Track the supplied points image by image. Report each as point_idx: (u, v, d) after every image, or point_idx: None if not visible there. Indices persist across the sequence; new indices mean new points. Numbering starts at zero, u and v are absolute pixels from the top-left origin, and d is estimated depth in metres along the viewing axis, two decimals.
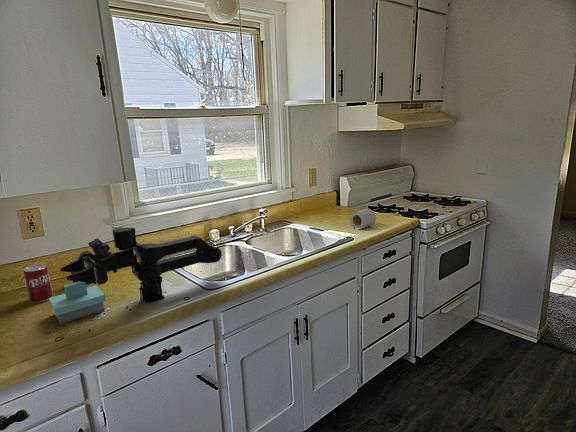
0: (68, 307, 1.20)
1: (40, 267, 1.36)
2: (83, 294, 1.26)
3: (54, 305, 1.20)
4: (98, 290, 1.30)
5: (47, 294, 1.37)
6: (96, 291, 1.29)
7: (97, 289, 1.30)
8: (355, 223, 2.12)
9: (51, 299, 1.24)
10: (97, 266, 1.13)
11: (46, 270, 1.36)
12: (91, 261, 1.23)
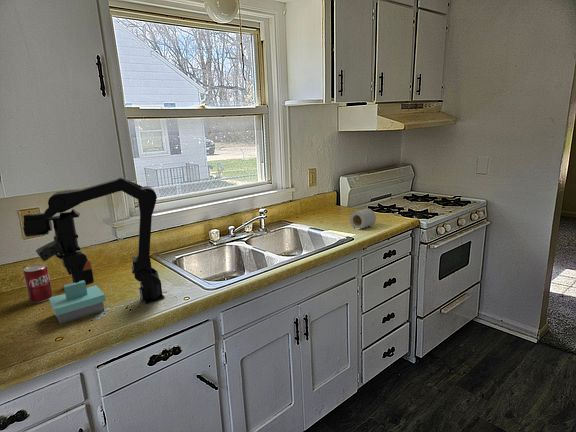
0: (68, 307, 1.20)
1: (40, 267, 1.36)
2: (83, 294, 1.26)
3: (54, 305, 1.20)
4: (98, 290, 1.30)
5: (47, 294, 1.37)
6: (96, 291, 1.29)
7: (97, 289, 1.30)
8: (355, 223, 2.12)
9: (51, 299, 1.24)
10: (65, 265, 1.14)
11: (46, 270, 1.36)
12: None
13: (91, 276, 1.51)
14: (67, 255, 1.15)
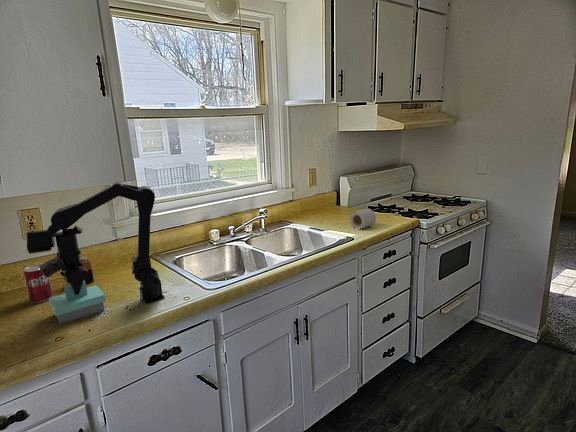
0: (68, 307, 1.20)
1: None
2: (83, 294, 1.26)
3: (54, 305, 1.20)
4: (98, 290, 1.30)
5: (47, 294, 1.37)
6: (96, 291, 1.29)
7: (97, 289, 1.30)
8: (355, 223, 2.12)
9: (51, 299, 1.24)
10: (68, 282, 1.15)
11: None
12: (68, 271, 1.22)
13: (91, 276, 1.51)
14: (70, 272, 1.17)
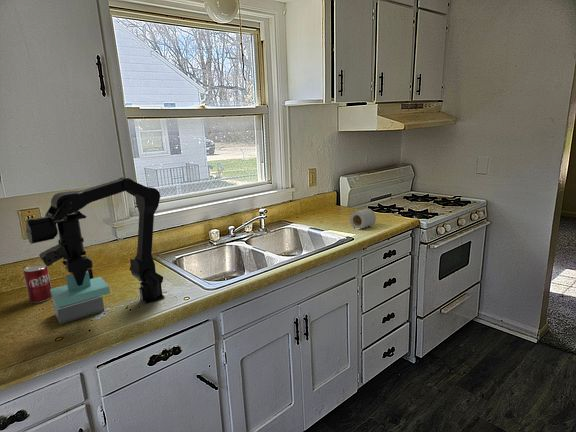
0: (69, 299, 1.12)
1: (40, 267, 1.36)
2: (86, 285, 1.18)
3: (55, 296, 1.12)
4: (102, 281, 1.21)
5: (47, 294, 1.37)
6: (100, 282, 1.21)
7: (101, 280, 1.22)
8: (355, 223, 2.12)
9: (52, 290, 1.16)
10: (69, 271, 1.07)
11: (46, 270, 1.36)
12: None
13: (91, 276, 1.51)
14: (71, 260, 1.08)
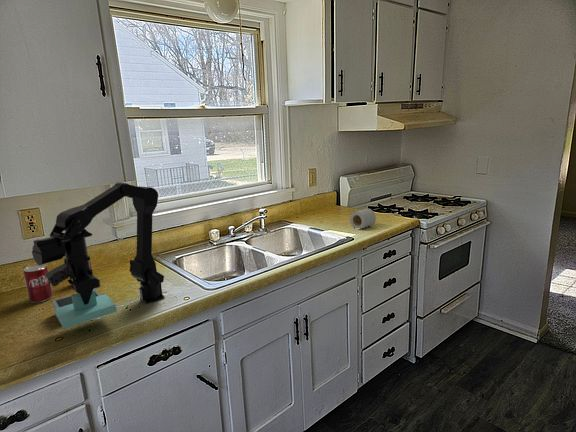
0: (76, 319, 1.10)
1: (40, 267, 1.36)
2: (92, 304, 1.16)
3: (61, 317, 1.10)
4: (108, 299, 1.20)
5: (47, 294, 1.37)
6: (106, 301, 1.19)
7: (107, 298, 1.21)
8: (355, 223, 2.12)
9: (58, 310, 1.14)
10: (77, 291, 1.06)
11: (46, 270, 1.36)
12: (77, 279, 1.12)
13: None
14: (79, 280, 1.07)
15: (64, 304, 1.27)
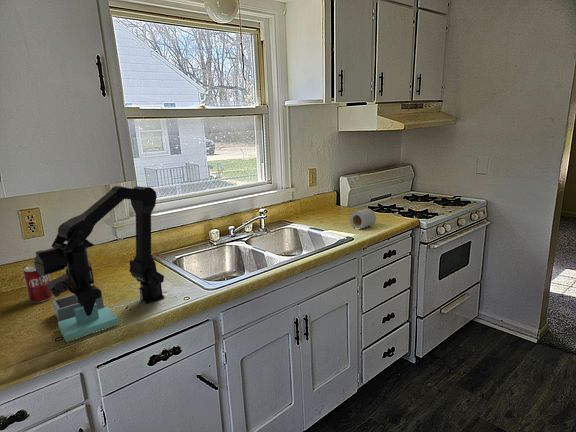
0: (79, 333, 1.11)
1: None
2: (94, 318, 1.17)
3: (64, 331, 1.11)
4: (110, 313, 1.21)
5: (47, 294, 1.37)
6: (108, 314, 1.20)
7: (109, 311, 1.22)
8: (355, 223, 2.12)
9: (60, 323, 1.16)
10: (79, 302, 1.06)
11: None
12: None
13: None
14: (81, 290, 1.08)
15: (64, 304, 1.27)
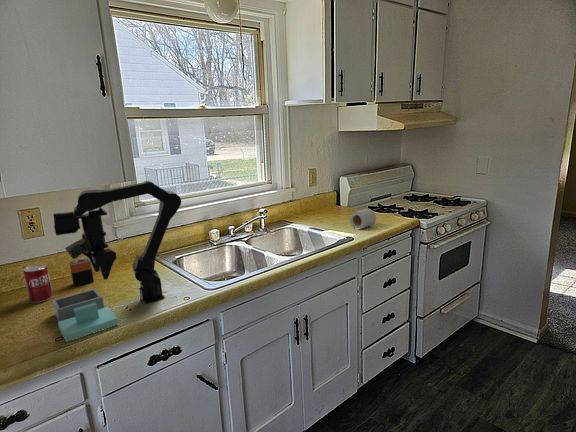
0: (79, 333, 1.11)
1: (40, 267, 1.36)
2: (94, 318, 1.17)
3: (64, 331, 1.11)
4: (110, 313, 1.21)
5: (47, 294, 1.37)
6: (108, 314, 1.20)
7: (109, 311, 1.22)
8: (355, 223, 2.12)
9: (60, 323, 1.16)
10: (96, 262, 1.16)
11: (46, 270, 1.36)
12: None
13: (91, 276, 1.51)
14: (97, 252, 1.18)
15: (64, 304, 1.27)
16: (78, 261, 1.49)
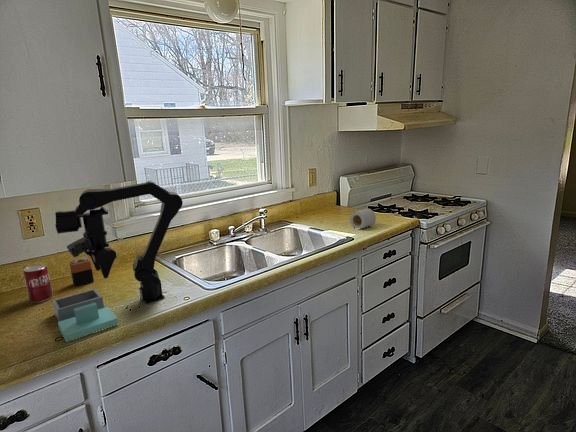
0: (79, 333, 1.11)
1: (40, 267, 1.36)
2: (94, 318, 1.17)
3: (64, 331, 1.11)
4: (110, 313, 1.21)
5: (47, 294, 1.37)
6: (108, 314, 1.20)
7: (109, 311, 1.22)
8: (355, 223, 2.12)
9: (60, 323, 1.16)
10: (96, 261, 1.17)
11: (46, 270, 1.36)
12: None
13: (91, 276, 1.51)
14: (97, 251, 1.18)
15: (64, 304, 1.27)
16: (78, 261, 1.49)
